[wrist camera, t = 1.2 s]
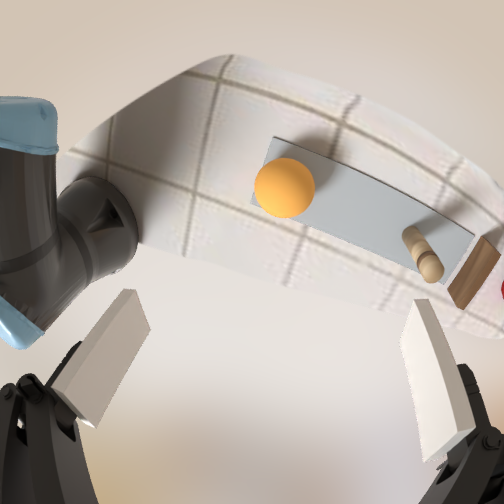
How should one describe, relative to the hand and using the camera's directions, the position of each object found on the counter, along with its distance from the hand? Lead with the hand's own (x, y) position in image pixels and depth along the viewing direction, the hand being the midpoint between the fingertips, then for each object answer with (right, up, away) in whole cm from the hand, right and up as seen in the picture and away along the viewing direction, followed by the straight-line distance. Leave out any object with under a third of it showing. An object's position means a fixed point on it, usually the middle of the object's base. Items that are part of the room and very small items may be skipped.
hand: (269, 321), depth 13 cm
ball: (+2, +9, +15) cm, 18 cm away
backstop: (+28, +1, +17) cm, 33 cm away
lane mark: (+13, +7, +17) cm, 23 cm away
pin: (+18, +5, +17) cm, 26 cm away
